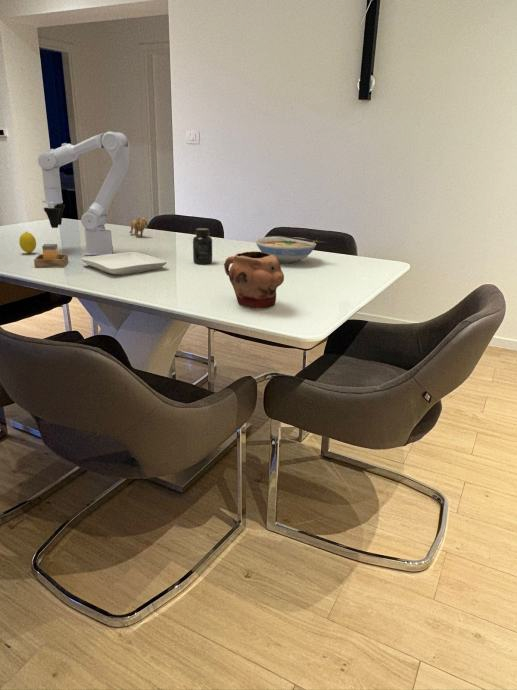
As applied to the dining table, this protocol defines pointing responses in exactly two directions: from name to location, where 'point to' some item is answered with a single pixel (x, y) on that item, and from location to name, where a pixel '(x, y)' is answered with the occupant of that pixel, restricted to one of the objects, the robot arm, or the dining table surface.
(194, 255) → the supplement bottle
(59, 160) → the robot arm
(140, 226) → the lion figurine
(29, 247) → the lemon
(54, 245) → the honey jar
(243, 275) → the decorative planter
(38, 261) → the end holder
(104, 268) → the salad plate
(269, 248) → the ramen bowl
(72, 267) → the dining table surface
